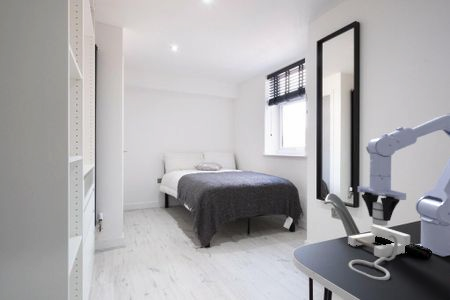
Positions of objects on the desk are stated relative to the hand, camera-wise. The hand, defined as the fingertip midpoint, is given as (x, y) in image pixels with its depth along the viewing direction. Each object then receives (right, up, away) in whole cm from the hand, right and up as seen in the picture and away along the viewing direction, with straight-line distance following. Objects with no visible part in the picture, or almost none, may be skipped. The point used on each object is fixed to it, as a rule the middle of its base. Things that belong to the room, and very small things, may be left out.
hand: (379, 218), depth 77 cm
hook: (-7, -10, -11) cm, 17 cm away
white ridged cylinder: (0, -2, 0) cm, 2 cm away
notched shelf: (-1, -9, 0) cm, 9 cm away
